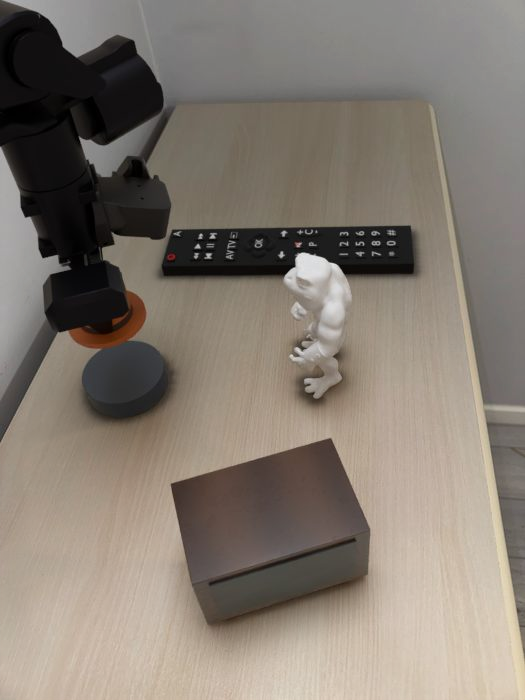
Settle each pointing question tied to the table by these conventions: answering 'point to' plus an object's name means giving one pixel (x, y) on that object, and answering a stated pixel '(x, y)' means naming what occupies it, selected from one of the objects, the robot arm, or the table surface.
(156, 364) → the stand
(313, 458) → the brown lidded box
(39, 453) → the table surface
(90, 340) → the orange top hat
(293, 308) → the figurine
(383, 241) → the remote control
